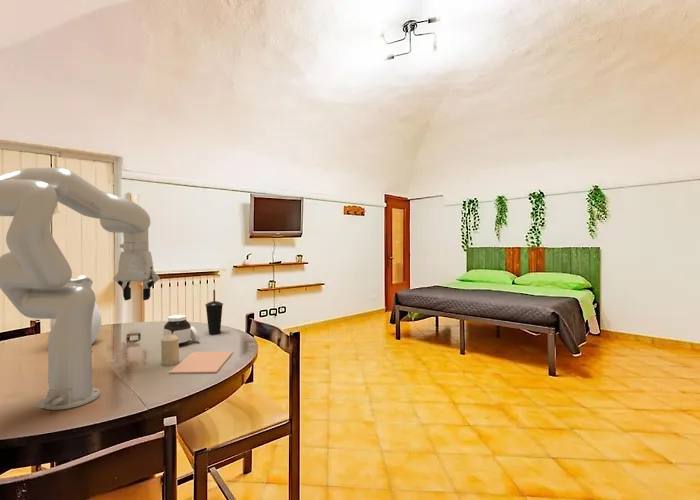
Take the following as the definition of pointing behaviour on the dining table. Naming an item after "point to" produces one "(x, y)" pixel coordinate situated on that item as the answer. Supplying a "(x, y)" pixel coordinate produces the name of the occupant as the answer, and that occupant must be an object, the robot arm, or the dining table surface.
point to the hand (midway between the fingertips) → (137, 299)
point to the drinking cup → (214, 316)
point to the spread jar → (181, 329)
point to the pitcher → (96, 313)
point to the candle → (170, 349)
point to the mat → (202, 363)
